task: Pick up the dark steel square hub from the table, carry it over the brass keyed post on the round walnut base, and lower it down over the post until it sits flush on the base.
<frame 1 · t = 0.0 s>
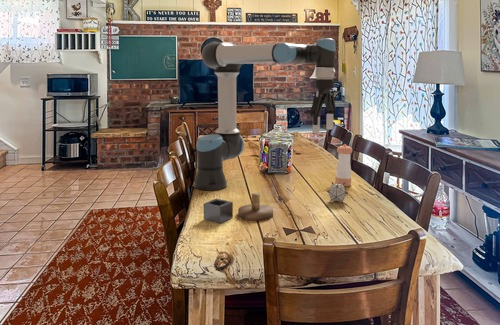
hand: (322, 131, 176), 28 cm above the table, tool pointing down, fingers open, 13 cm apart
game die: (336, 202, 175), on the table
post block: (255, 214, 159), on the table
steel hub: (218, 218, 155), on the table
pepper shaker: (343, 184, 201), on the table
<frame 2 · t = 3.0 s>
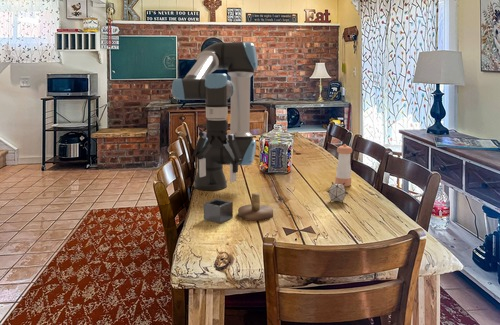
hand: (217, 179, 152), 15 cm above the table, tool pointing down, fingers open, 13 cm apart
nothing on the table moved.
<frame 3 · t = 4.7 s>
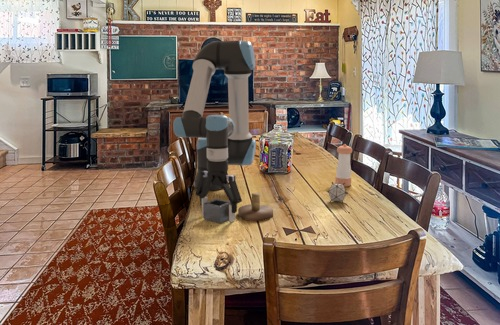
hand: (218, 217, 155), 0 cm above the table, tool pointing down, fingers open, 12 cm apart
nothing on the table moved.
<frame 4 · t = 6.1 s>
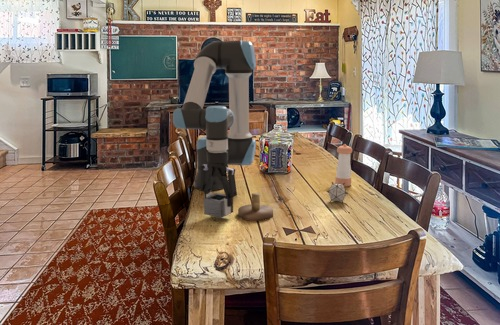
hand: (218, 212, 155), 2 cm above the table, tool pointing down, fingers closed on steel hub, 7 cm apart
steel hub: (218, 213, 155), point 2 cm above the table, touching gripper
everything else where it was.
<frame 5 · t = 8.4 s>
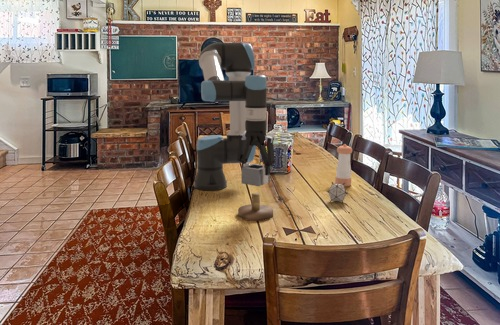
hand: (255, 182, 156), 13 cm above the table, tool pointing down, fingers closed on steel hub, 7 cm apart
steel hub: (255, 182, 156), point 12 cm above the table, touching gripper
everything else where it was.
when the fingers open (4 cm above the table, at t = 10.7 s): steel hub drops 2 cm, resting on post block.
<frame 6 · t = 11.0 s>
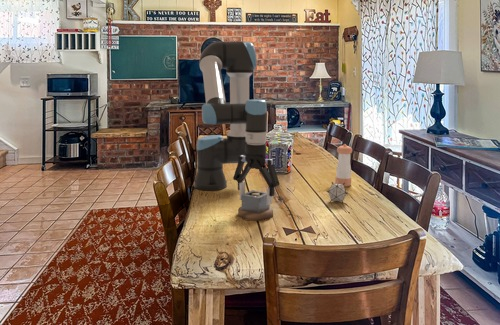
hand: (255, 201, 158), 5 cm above the table, tool pointing down, fingers open, 11 cm apart
steel hub: (255, 209, 159), point 2 cm above the table, touching post block
everything else where it was.
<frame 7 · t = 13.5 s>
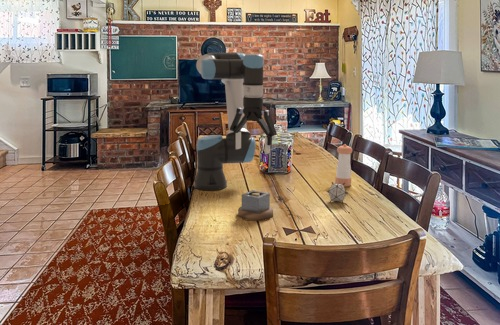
hand: (252, 151, 168), 22 cm above the table, tool pointing down, fingers open, 13 cm apart
nothing on the table moved.
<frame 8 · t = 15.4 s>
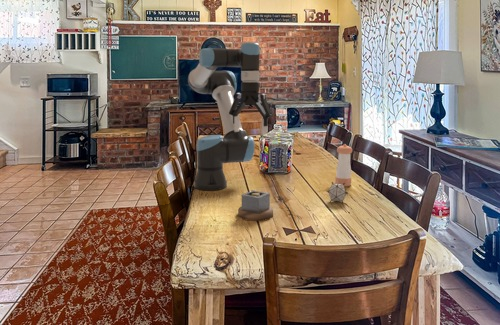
hand: (250, 132, 181), 27 cm above the table, tool pointing down, fingers open, 13 cm apart
nothing on the table moved.
at the end: steel hub 0.1 cm from the post block (horizontally); steel hub point 2.0 cm above the table; steel hub tilted 0° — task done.
